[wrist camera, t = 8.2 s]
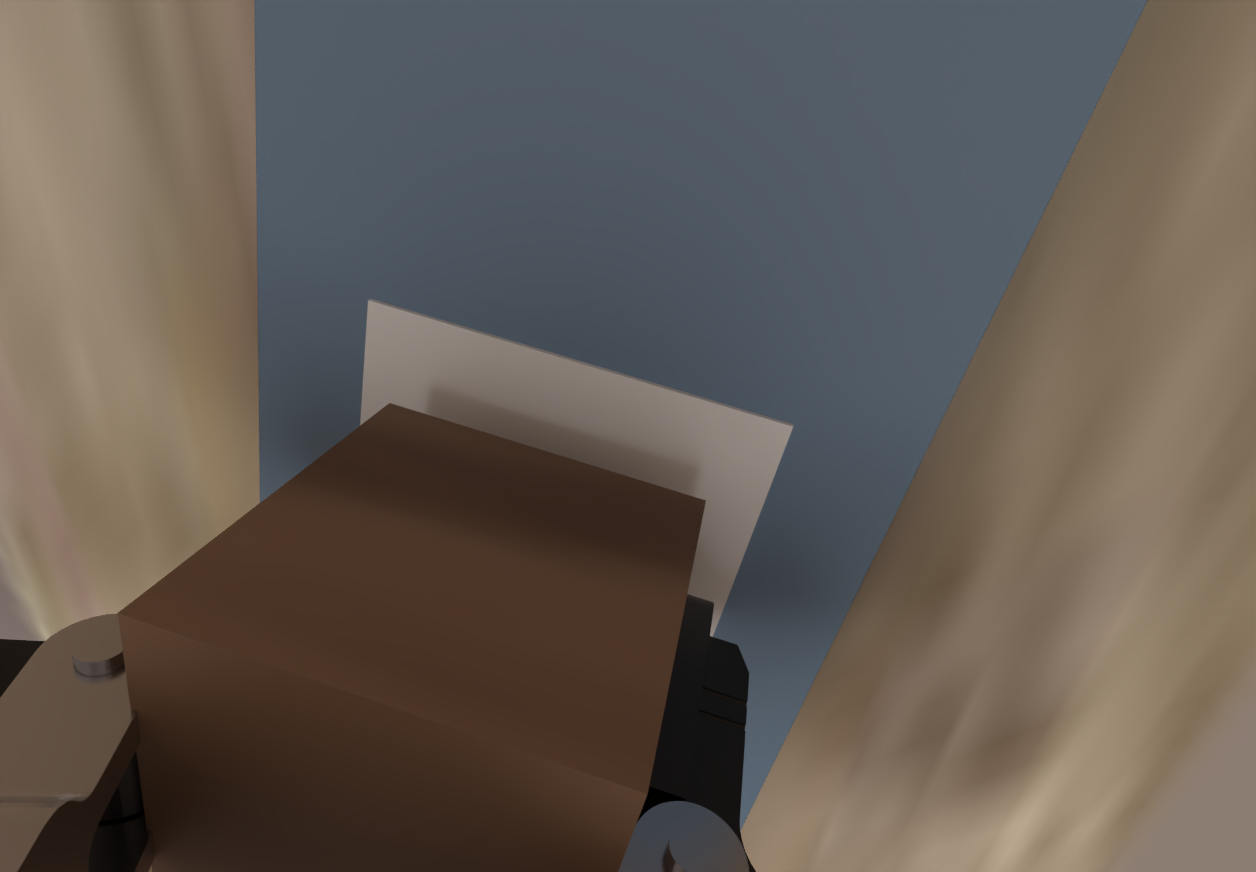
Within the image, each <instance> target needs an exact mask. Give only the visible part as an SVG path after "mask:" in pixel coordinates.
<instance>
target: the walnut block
mask: <svg viewBox="0 0 1256 872" xmlns="http://www.w3.org/2000/svg"><path fill="white" fill-rule="evenodd" d="M705 503H706V500H703V499H700V498H696V497H693V496H690V495H687V494H683V493H680V492H677V491H674V490H670V489H667V488H664V487H661V486H657V485H654V484H651V483H648V482H645V481H641V480H638V479H635V478H632V477H628V476H625V475H622V474H619V473H615V472H612V471H609V470H606V469H602V468H599V467H596V466H593V465H589V464H586V463H583V462H580V461H576V460H573V459H570V458H567V457H563V456H560V455H557V454H554V453H550V452H547V451H544V450H541V449H537V448H534V447H531V446H528V445H524V444H521V443H518V442H515V441H512V440H508V439H505V438H502V437H499V436H495V435H492V434H489V433H486V432H482V431H479V430H476V429H473V428H469V427H466V426H463V425H460V424H456V423H453V422H450V421H447V420H443V419H440V418H437V417H434V416H430V415H427V414H424V413H421V412H417V411H414V410H411V409H408V408H404V407H401V406H398V405H395V404H392V403H389V404H387V405H386V406H385V407H384V408H382V409H381V410H380V411H378V412H377V413H376V414H375V415H373V416H372V417H371V418H369V419H368V420H367V421H365V422H364V423H363V424H362V425H360V426H359V427H358V428H356V429H355V430H354V431H353V432H351V433H350V434H349V435H347V436H346V437H345V438H343V439H342V440H341V441H340V442H338V443H337V444H336V445H334V446H333V447H332V448H331V449H329V450H328V451H327V452H325V453H324V454H323V455H322V456H320V457H319V458H318V459H316V460H315V461H314V462H312V463H311V464H310V465H309V466H307V467H306V468H305V469H303V470H302V471H301V472H300V473H298V474H297V475H296V476H294V477H293V478H292V479H291V480H289V481H288V482H287V483H285V484H284V485H283V486H281V487H280V488H279V489H278V490H276V491H275V492H274V493H272V494H271V495H270V496H269V497H267V498H266V499H265V500H263V501H262V502H261V503H259V504H258V505H257V506H256V507H254V508H253V509H252V510H250V511H249V512H248V513H247V514H245V515H244V516H243V517H241V518H240V519H239V520H238V521H236V522H235V523H234V524H232V525H231V526H230V527H228V528H227V529H226V530H225V531H223V532H222V533H221V534H219V535H218V536H217V537H216V538H214V539H213V540H212V541H210V542H209V543H208V544H207V545H205V546H204V547H203V548H201V549H200V550H199V551H197V552H196V553H195V554H194V555H192V556H191V557H190V558H188V559H187V560H186V561H185V562H183V563H182V564H181V565H179V566H178V567H177V568H175V569H174V570H173V571H172V572H170V573H169V574H168V575H166V576H165V577H164V578H163V579H161V580H160V581H159V582H157V583H156V584H155V585H154V586H152V587H151V588H150V589H148V590H147V591H146V592H144V593H143V594H142V595H141V596H139V597H138V598H137V599H135V600H134V601H133V602H132V603H130V604H129V605H128V606H126V607H125V608H124V609H123V610H121V611H120V612H119V613H118V619H119V626H120V634H121V641H122V649H123V656H124V664H125V671H126V679H127V686H128V694H129V701H130V709H133V710H136V711H137V714H138V722H139V729H140V737H141V742H140V744H139V746H138V748H137V750H136V753H137V761H138V768H139V776H140V783H141V791H142V798H143V806H144V813H145V821H146V828H147V830H150V831H152V832H153V839H154V847H155V855H156V856H155V858H154V860H153V863H152V865H151V866H152V872H618V871H619V868H620V866H621V863H622V860H623V858H624V855H625V852H626V850H627V847H628V845H629V842H630V839H631V837H632V834H633V831H634V829H635V826H636V823H637V821H638V818H639V815H640V813H641V810H642V808H643V805H644V802H645V800H646V797H647V794H648V789H649V784H650V779H651V774H652V769H653V764H654V759H655V754H656V749H657V744H658V739H659V734H660V729H661V724H662V719H663V714H664V709H665V704H666V699H667V694H668V689H669V684H670V679H671V674H672V669H673V664H674V659H675V654H676V649H677V644H678V639H679V633H680V628H681V623H682V618H683V613H684V608H685V603H686V598H687V593H688V588H689V583H690V578H691V573H692V568H693V563H694V558H695V553H696V548H697V543H698V538H699V533H700V528H701V523H702V518H703V513H704V508H705Z"/></svg>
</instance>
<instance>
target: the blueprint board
mask: <svg viewBox="0 0 1256 872" xmlns="http://www.w3.org/2000/svg"><path fill="white" fill-rule="evenodd" d="M1147 1H1148V0H255V80H256V174H257V267H258V360H259V453H260V503H261V502H262V501H263V500H265V499H266V498H267V497H269V496H270V495H271V494H272V493H274V492H275V491H276V490H278V489H279V488H280V487H281V486H283V485H284V484H285V483H287V482H288V481H289V480H291V479H292V478H293V477H294V476H296V475H297V474H298V473H300V472H301V471H302V470H303V469H305V468H306V467H307V466H309V465H310V464H311V463H312V462H314V461H315V460H316V459H318V458H319V457H320V456H322V455H323V454H324V453H325V452H327V451H328V450H329V449H331V448H332V447H333V446H334V445H336V444H337V443H338V442H340V441H341V440H342V439H343V438H345V437H346V436H347V435H349V434H350V433H351V432H353V431H354V430H355V429H356V428H358V427H359V426H360V425H362V424H363V423H364V422H365V421H367V420H368V419H369V418H371V417H372V416H373V415H375V414H376V413H377V412H378V411H380V410H381V409H382V408H384V407H385V406H386V405H387V404H389V403H392V404H395V405H398V406H401V407H404V408H408V409H411V410H414V411H417V412H421V413H424V414H427V415H430V416H434V417H437V418H440V419H443V420H447V421H450V422H453V423H456V424H460V425H463V426H466V427H469V428H473V429H476V430H479V431H482V432H486V433H489V434H492V435H495V436H499V437H502V438H505V439H508V440H512V441H515V442H518V443H521V444H524V445H528V446H531V447H534V448H537V449H541V450H544V451H547V452H550V453H554V454H557V455H560V456H563V457H567V458H570V459H573V460H576V461H580V462H583V463H586V464H589V465H593V466H596V467H599V468H602V469H606V470H609V471H612V472H615V473H619V474H622V475H625V476H628V477H632V478H635V479H638V480H641V481H645V482H648V483H651V484H654V485H657V486H661V487H664V488H667V489H670V490H674V491H677V492H680V493H683V494H687V495H690V496H693V497H696V498H700V499H703V500H706V503H705V508H704V513H703V518H702V523H701V528H700V533H699V538H698V543H697V548H696V553H695V558H694V563H693V568H692V573H691V578H690V583H689V588H688V593H687V594H689V595H692V596H695V597H698V598H702V599H705V600H708V601H711V602H714V610H713V617H712V624H711V631H710V636H712V637H715V638H718V639H721V640H724V641H727V642H730V643H734V644H737V645H738V647H739V649H740V651H741V654H742V656H743V659H744V661H745V664H746V666H747V669H748V671H749V686H748V701H747V705H746V707H747V717H746V726H745V731H746V733H745V748H744V763H743V779H742V794H741V810H740V830H741V828H742V826H743V824H744V822H745V820H746V818H747V816H748V814H749V812H750V810H751V808H752V806H753V804H754V802H755V800H756V798H757V796H758V793H759V791H760V789H761V787H762V785H763V783H764V781H765V779H766V777H767V775H768V773H769V771H770V769H771V767H772V765H773V763H774V761H775V759H776V757H777V755H778V753H779V751H780V749H781V747H782V745H783V743H784V740H785V738H786V736H787V734H788V732H789V730H790V728H791V726H792V724H793V722H794V720H795V718H796V716H797V714H798V712H799V710H800V708H801V706H802V704H803V702H804V700H805V698H806V696H807V694H808V692H809V690H810V687H811V685H812V683H813V681H814V679H815V677H816V675H817V673H818V671H819V669H820V667H821V665H822V663H823V661H824V659H825V657H826V655H827V653H828V651H829V649H830V647H831V645H832V643H833V641H834V639H835V637H836V635H837V632H838V630H839V628H840V626H841V624H842V622H843V620H844V618H845V616H846V614H847V612H848V610H849V608H850V606H851V604H852V602H853V600H854V598H855V596H856V594H857V592H858V590H859V588H860V586H861V584H862V582H863V579H864V577H865V575H866V573H867V571H868V569H869V567H870V565H871V563H872V561H873V559H874V557H875V555H876V553H877V551H878V549H879V547H880V545H881V543H882V541H883V539H884V537H885V535H886V533H887V531H888V529H889V527H890V524H891V522H892V520H893V518H894V516H895V514H896V512H897V510H898V508H899V506H900V504H901V502H902V500H903V498H904V496H905V494H906V492H907V490H908V488H909V486H910V484H911V482H912V480H913V478H914V476H915V474H916V471H917V469H918V467H919V465H920V463H921V461H922V459H923V457H924V455H925V453H926V451H927V449H928V447H929V445H930V443H931V441H932V439H933V437H934V435H935V433H936V431H937V429H938V427H939V425H940V423H941V421H942V418H943V416H944V414H945V412H946V410H947V408H948V406H949V404H950V402H951V400H952V398H953V396H954V394H955V392H956V390H957V388H958V386H959V384H960V382H961V380H962V378H963V376H964V374H965V372H966V370H967V368H968V366H969V363H970V361H971V359H972V357H973V355H974V353H975V351H976V349H977V347H978V345H979V343H980V341H981V339H982V337H983V335H984V333H985V331H986V329H987V327H988V325H989V323H990V321H991V319H992V317H993V315H994V313H995V310H996V308H997V306H998V304H999V302H1000V300H1001V298H1002V296H1003V294H1004V292H1005V290H1006V288H1007V286H1008V284H1009V282H1010V280H1011V278H1012V276H1013V274H1014V272H1015V270H1016V268H1017V266H1018V264H1019V262H1020V260H1021V258H1022V255H1023V253H1024V251H1025V249H1026V247H1027V245H1028V243H1029V241H1030V239H1031V237H1032V235H1033V233H1034V231H1035V229H1036V227H1037V225H1038V223H1039V221H1040V219H1041V217H1042V215H1043V213H1044V211H1045V209H1046V207H1047V205H1048V202H1049V200H1050V198H1051V196H1052V194H1053V192H1054V190H1055V188H1056V186H1057V184H1058V182H1059V180H1060V178H1061V176H1062V174H1063V172H1064V170H1065V168H1066V166H1067V164H1068V162H1069V160H1070V158H1071V156H1072V154H1073V152H1074V149H1075V147H1076V145H1077V143H1078V141H1079V139H1080V137H1081V135H1082V133H1083V131H1084V129H1085V127H1086V125H1087V123H1088V121H1089V119H1090V117H1091V115H1092V113H1093V111H1094V109H1095V107H1096V105H1097V103H1098V101H1099V99H1100V97H1101V94H1102V92H1103V90H1104V88H1105V86H1106V84H1107V82H1108V80H1109V78H1110V76H1111V74H1112V72H1113V70H1114V68H1115V66H1116V64H1117V62H1118V60H1119V58H1120V56H1121V54H1122V52H1123V50H1124V48H1125V46H1126V44H1127V41H1128V39H1129V37H1130V35H1131V33H1132V31H1133V29H1134V27H1135V25H1136V23H1137V21H1138V19H1139V17H1140V15H1141V13H1142V11H1143V9H1144V7H1145V5H1146V3H1147Z"/></svg>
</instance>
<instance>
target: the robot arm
mask: <svg viewBox="0 0 1256 872" xmlns="http://www.w3.org/2000/svg"><path fill="white" fill-rule="evenodd" d="M713 610H714V602H711V601H708V600H705V599H702V598H698V597H695V596H692V595H689V594H687V598H686V603H685V608H684V613H683V618H682V623H681V628H680V633H679V639H678V644H677V649H676V654H675V659H674V664H673V669H672V674H671V679H670V684H669V689H668V694H667V699H666V704H665V709H664V714H663V719H662V724H661V729H660V734H659V739H658V744H657V749H656V754H655V759H654V764H653V769H652V774H651V779H650V784H649V789H648V794H647V797H646V800H645V802H644V805H643V808H642V810H641V813H640V815H639V818H638V821H637V823H636V826H635V829H634V831H633V834H632V837H631V839H630V842H629V845H628V847H627V850H626V852H625V855H624V858H623V860H622V863H621V866H620V868H619V871H618V872H756V871H755V869H754V868H753V866H752V865H751V863H750V861H749V859H748V856H747V854H746V852H745V849H744V846H743V843H742V839H741V833H740V810H741V794H742V779H743V763H744V748H745V733H746V731H745V726H746V717H747V707H746V705H747V701H748V686H749V671H748V669H747V666H746V664H745V661H744V659H743V656H742V654H741V651H740V649H739V647H738V645H737V644H734V643H730V642H727V641H724V640H721V639H718V638H715V637H712V636H710V631H711V624H712V617H713ZM140 742H141V737H140V729H139V722H138V714H137V711H136V710H133V709H130V701H129V694H128V686H127V679H126V671H125V664H124V656H123V649H122V641H121V634H120V626H119V619H118V614H107V615H101V616H96V617H92V618H89V619H85V620H82V621H79V622H77V623H74V624H72V625H70V626H68V627H66V628H64V629H62V630H60V631H58V632H57V633H55V634H54V635H52V636H51V637H50V638H48V639H47V640H46V641H26V640H7V639H0V872H149V869H150V867H151V865H152V863H153V860H154V858H155V856H156V855H155V847H154V839H153V832H152V831H150V830H147V828H146V821H145V813H144V806H143V798H142V791H141V783H140V776H139V768H138V761H137V753H136V750H137V748H138V746H139V744H140Z"/></svg>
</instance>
